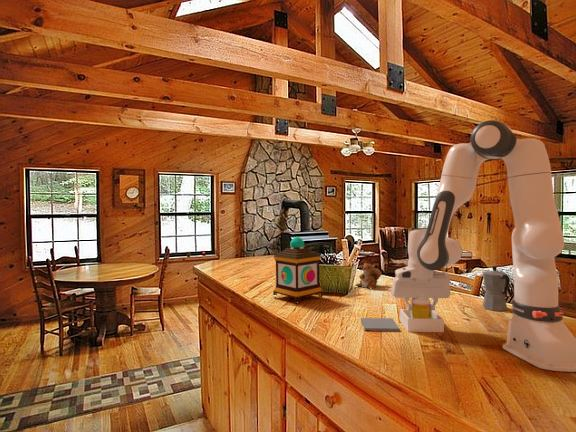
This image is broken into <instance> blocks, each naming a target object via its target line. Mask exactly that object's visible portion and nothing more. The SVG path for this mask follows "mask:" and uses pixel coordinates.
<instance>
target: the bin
mask: <svg viewBox="0 0 576 432" xmlns="http://www.w3.org/2000/svg"><path fill="white" fill-rule="evenodd" d="M430 311H431V319H419V318H411V310H408V309H407V308H406V309H403V308H402V309H399V321H400V323H401V325H402V326H403V327H404V328H405V330H406V331H407V332H409V333H417V332H418V333H444V332H445V319H444V317H442V316H441V315H440V314H439V313H438V312H436V310H430Z"/></svg>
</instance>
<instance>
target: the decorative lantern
mask: <svg viewBox="0 0 576 432" xmlns="http://www.w3.org/2000/svg"><path fill="white" fill-rule="evenodd" d="M289 242H290V243H289V246H288V245H287V247H286V248H285V249H283V250H282V251H278V252H277V253H275V254H274V255H273V258H274V261H275V287H274V289H273V293H272V294H273V295H277V296H278V295H282V296H286V297H290V298H294V302H295V303H296V302H300V299H301V298H305V297H308V296H309V297H310V296H312V295H314V296H315V295H318V297H322V298H323V294H324V293H323V290H322V288H321V286H320V261H321V258H322V255H321V254H320V253H318V252H317V251H313V250H312V249H310V248H309V247H308V246H305V241H304V240H303V238H301V237H299V236H295V237H293V238H292V239H291V241H289ZM273 295H272V296H273Z"/></svg>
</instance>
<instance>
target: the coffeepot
mask: <svg viewBox="0 0 576 432" xmlns="http://www.w3.org/2000/svg"><path fill="white" fill-rule="evenodd" d="M497 268H498V266H492V270H486V271H482V278H483V284H484V285H483V286H484V288H485V293H484V297H483V302H482V308H483V309H484V308H485V309H484V310H488V311H491V310H492V312H505V311H507V310H508V307H507V305H508V304H507V300H506V296H505V295H507V293H508V291H509V287H510V283H511V279H510V277H509V275H508V274H507V273H505V272H502V271H498V270H497Z"/></svg>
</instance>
